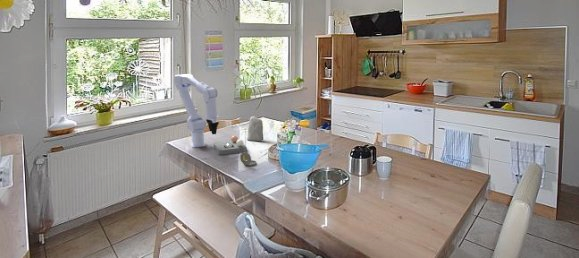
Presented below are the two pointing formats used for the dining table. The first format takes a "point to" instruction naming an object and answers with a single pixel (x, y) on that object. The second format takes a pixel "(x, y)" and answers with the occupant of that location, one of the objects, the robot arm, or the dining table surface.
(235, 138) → the terracotta ball
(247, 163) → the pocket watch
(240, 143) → the cream ball
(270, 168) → the dining table surface
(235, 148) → the hole plate
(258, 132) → the decorative stone
